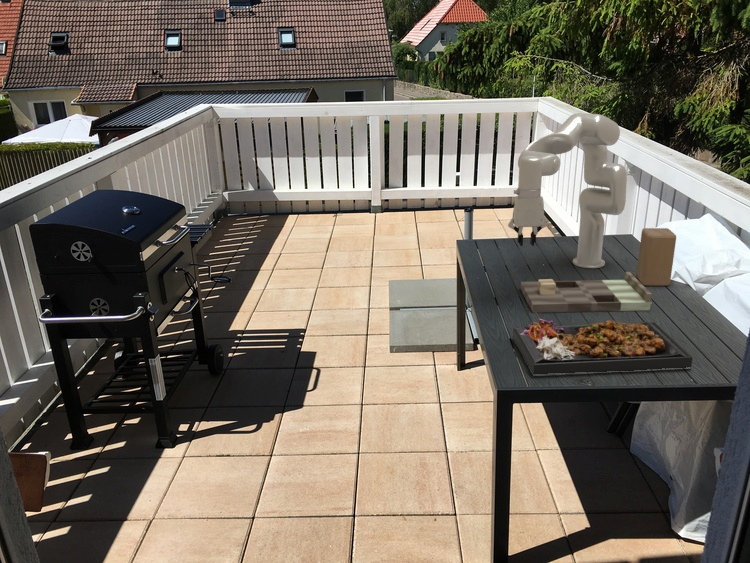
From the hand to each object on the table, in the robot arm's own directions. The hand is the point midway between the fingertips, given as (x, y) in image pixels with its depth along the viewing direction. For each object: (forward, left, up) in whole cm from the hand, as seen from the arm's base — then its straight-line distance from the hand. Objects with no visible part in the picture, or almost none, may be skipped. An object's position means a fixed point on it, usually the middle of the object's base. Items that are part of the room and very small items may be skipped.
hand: (526, 244), depth 229 cm
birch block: (0, +8, -18) cm, 20 cm away
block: (-16, +52, -21) cm, 58 cm away
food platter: (+42, +14, -22) cm, 50 cm away
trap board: (0, +21, -21) cm, 30 cm away
